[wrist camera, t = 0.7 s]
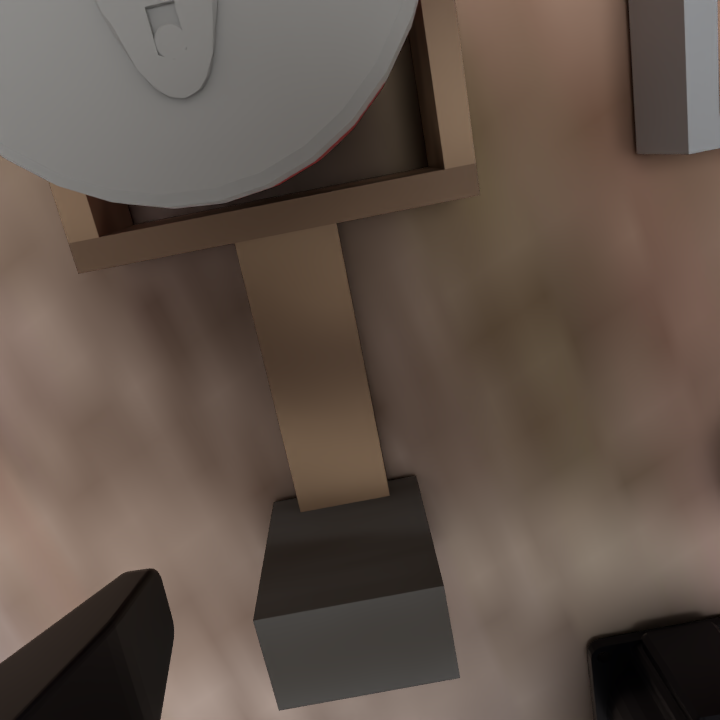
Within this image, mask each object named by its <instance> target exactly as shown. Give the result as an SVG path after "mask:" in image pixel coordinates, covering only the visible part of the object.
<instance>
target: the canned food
mask: <svg viewBox="0 0 720 720" xmlns="http://www.w3.org/2000/svg"><path fill="white" fill-rule="evenodd" d="M417 4H418V0H0V155H1V156H2V157H3V158H5V159H7V160H9V161H10V162H12V163H14V164H16V165H18V166H20V167H22V168H24V169H26V170H28V171H30V172H32V173H34V174H36V175H38V176H39V177H41V178H43V179H45V180H47V181H49V182H51V183H53V184H55V185H57V186H60V187H63V188H66V189H70V190H73V191H76V192H80V193H83V194H86V195H90V196H93V197H96V198H100V199H103V200H106V201H109V202H116V203H122V204H130V205H141V206H151V207H161V208H172V209H177V208H186V207H195V206H204V205H213V204H222V203H227V202H230V201H233V200H236V199H239V198H242V197H245V196H248V195H251V194H254V193H257V192H260V191H263V190H266V189H269V188H272V187H275V186H278V185H280V184H282V183H283V182H285V181H287V180H288V179H290V178H292V177H293V176H295V175H297V174H298V173H300V172H302V171H303V170H305V169H307V168H308V167H310V166H312V165H313V164H315V163H317V162H318V161H320V160H321V159H322V158H323V157H325V156H326V155H327V154H328V153H329V152H330V151H331V150H332V149H333V148H334V147H335V146H337V145H338V144H339V143H340V142H341V141H342V140H343V139H344V138H345V137H346V136H347V135H348V134H349V133H350V132H351V131H352V130H353V129H354V127H355V126H356V125H357V123H358V122H359V120H360V119H361V118H362V116H363V115H364V113H365V112H366V111H367V109H368V108H369V106H370V105H371V104H372V102H373V101H374V99H375V98H376V97H377V95H378V94H379V92H380V91H381V90H382V88H383V86H384V84H385V82H386V80H387V78H388V76H389V74H390V72H391V70H392V68H393V65H394V63H395V61H396V59H397V57H398V55H399V52H400V50H401V48H402V46H403V44H404V42H405V39H406V37H407V35H408V33H409V31H410V29H411V27H412V23H413V19H414V16H415V12H416V8H417Z"/></svg>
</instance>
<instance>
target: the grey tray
mask: <svg viewBox="0 0 720 720" xmlns="http://www.w3.org/2000/svg"><path fill="white" fill-rule="evenodd" d="M628 1H629V20H630V38H631V56H632V74H633V92H634V110H635V128H636V147H637V154H692V153H698V152H703V151H708V150H713V149H718V148H720V110H719V65H718V9H717V0H628Z"/></svg>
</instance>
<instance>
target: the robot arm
mask: <svg viewBox="0 0 720 720" xmlns="http://www.w3.org/2000/svg"><path fill="white" fill-rule="evenodd" d="M173 640H174V624H173V619H172V615H171V611H170V608H169V604H168V601H167V597H166V593H165V590H164V586H163V582H162V579H161V576H160V575H159V573H158V571H156V570H155V569H142V570H136V571H129V572H125V573H123V574H121V575H120V576H119V577H117V578H116V579H115V580H113V581H112V582H111V583H109V584H108V585H106V586H105V587H104V588H102V589H101V590H100V591H98V592H97V593H96V594H94V595H93V596H92V597H90V598H89V599H87V600H86V601H85V602H83V603H82V604H81V605H79V606H78V607H77V608H75V609H74V610H72V611H71V612H70V613H68V614H67V615H66V616H64V617H63V618H62V619H60V620H59V621H58V622H56V623H55V624H53V625H52V626H51V627H49V628H48V629H47V630H45V631H44V632H43V633H41V634H40V635H38V636H37V637H36V638H34V639H33V640H32V641H30V642H29V643H28V644H26V645H25V646H23V647H22V648H21V649H19V650H18V651H17V652H15V653H14V654H13V655H11V656H10V657H9V658H7V659H6V660H4V661H3V662H2V663H0V720H160V719H161V713H162V707H163V701H164V695H165V689H166V683H167V677H168V671H169V665H170V659H171V653H172V647H173ZM602 652H605V653H604V654H602V655H599V654H600V653H602ZM587 655H588V665H589V675H590V685H591V695H592V705H593V715H594V720H720V617H718V618H713V619H707V620H702V621H696V622H690V623H685V624H679V625H674V626H668V627H663V628H657V629H652V630H646V631H641V632H635V633H630V634H624V635H619V636H613V637H608V638H602V639H598V640H595V641H593V642H592V643H591V644H590V645H589V647H588V650H587Z"/></svg>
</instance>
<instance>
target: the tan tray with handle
mask: <svg viewBox="0 0 720 720" xmlns="http://www.w3.org/2000/svg"><path fill="white" fill-rule="evenodd" d="M409 39H410V46H411V53H412V59H413V66H414V73H415V79H416V86H417V93H418V99H419V106H420V113H421V119H422V126H423V133H424V139H425V146H426V153H427V160H428V166H429V167H425V168H420V169H415V170H410V171H405V172H400V173H395V174H390V175H385V176H380V177H375V178H370V179H365V180H360V181H354V182H349V183H344V184H339V185H334V186H329V187H324V188H319V189H314V190H309V191H304V192H299V193H294V194H288V195H283V196H278V197H273V198H268V199H263V200H258V201H253V202H248V203H243V204H238V205H233V206H228V207H223V208H217V209H212V210H207V211H202V212H197V213H192V214H187V215H182V216H177V217H172V218H167V219H162V220H157V221H151V222H146V223H141V224H136V225H133V222H132V219H131V216H130V212H129V209H128V205H127V204H122V203H116V202H109V201H106V200H103V199H100V198H96V197H93V196H90V195H86V194H83V193H80V192H76V191H73V190H70V189H66V188H63V187H60V186H57V185H55V184H53V183H51V182H49V184H50V187H51V191H52V194H53V197H54V200H55V203H56V206H57V209H58V212H59V215H60V218H61V221H62V225H63V228H64V231H65V234H66V237H67V240H68V243H69V246H70V249H71V252H72V255H73V258H74V262H75V265H76V268H77V271H78V274H80V273H85V272H90V271H95V270H100V269H105V268H110V267H116V266H121V265H126V264H131V263H136V262H141V261H146V260H151V259H156V258H161V257H167V256H172V255H177V254H182V253H187V252H192V251H197V250H202V249H207V248H213V247H218V246H223V245H228V244H233V243H234V244H235V248H236V252H237V256H238V260H239V264H240V268H241V272H242V276H243V280H244V284H245V288H246V293H247V297H248V301H249V305H250V309H251V313H252V317H253V321H254V325H255V329H256V333H257V337H258V341H259V345H260V349H261V353H262V358H263V362H264V366H265V370H266V374H267V378H268V382H269V386H270V390H271V394H272V398H273V402H274V406H275V410H276V414H277V418H278V422H279V427H280V431H281V435H282V439H283V443H284V447H285V451H286V455H287V459H288V463H289V467H290V471H291V475H292V479H293V483H294V487H295V492H296V496H297V498H295V499H290V500H284V501H279V502H274V504H273V509H272V515H271V521H270V527H269V532H268V538H267V544H266V550H265V555H264V561H263V567H262V573H261V579H260V584H259V590H258V596H257V602H256V607H255V613H254V619H253V622H254V625H255V629H256V632H257V636H258V639H259V643H260V646H261V650H262V653H263V657H264V660H265V664H266V667H267V670H268V674H269V677H270V681H271V684H272V688H273V691H274V695H275V698H276V702H277V705H278V709H279V710H285V709H290V708H296V707H301V706H307V705H312V704H318V703H324V702H329V701H335V700H340V699H346V698H351V697H357V696H362V695H368V694H373V693H379V692H385V691H390V690H396V689H401V688H407V687H412V686H418V685H423V684H429V683H434V682H440V681H445V680H451V679H457V678H460V675H459V669H458V663H457V658H456V652H455V646H454V641H453V635H452V629H451V624H450V618H449V612H448V607H447V601H446V595H445V590H444V585H443V581H442V577H441V573H440V569H439V565H438V561H437V557H436V553H435V549H434V545H433V541H432V537H431V533H430V529H429V525H428V521H427V517H426V513H425V509H424V506H423V502H422V498H421V494H420V490H419V486H418V482H417V478H416V476H412V477H407V478H402V479H396V480H391V481H387V477H386V471H385V466H384V461H383V456H382V451H381V446H380V441H379V436H378V431H377V426H376V421H375V415H374V410H373V405H372V400H371V395H370V390H369V385H368V380H367V375H366V370H365V364H364V359H363V354H362V349H361V344H360V339H359V334H358V329H357V324H356V319H355V314H354V308H353V303H352V298H351V293H350V288H349V283H348V278H347V273H346V268H345V263H344V258H343V252H342V247H341V242H340V237H339V232H338V227H337V223H340V222H345V221H350V220H355V219H361V218H366V217H371V216H376V215H381V214H386V213H391V212H396V211H401V210H407V209H412V208H417V207H422V206H427V205H432V204H437V203H442V202H447V201H452V200H458V199H463V198H468V197H473V196H478V195H480V190H479V183H478V175H477V167H476V159H475V151H474V143H473V136H472V128H471V120H470V112H469V104H468V97H467V89H466V81H465V73H464V65H463V58H462V50H461V42H460V34H459V26H458V19H457V11H456V3H455V0H418V4H417V8H416V12H415V16H414V19H413V23H412V27H411V29H410V31H409Z"/></svg>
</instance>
